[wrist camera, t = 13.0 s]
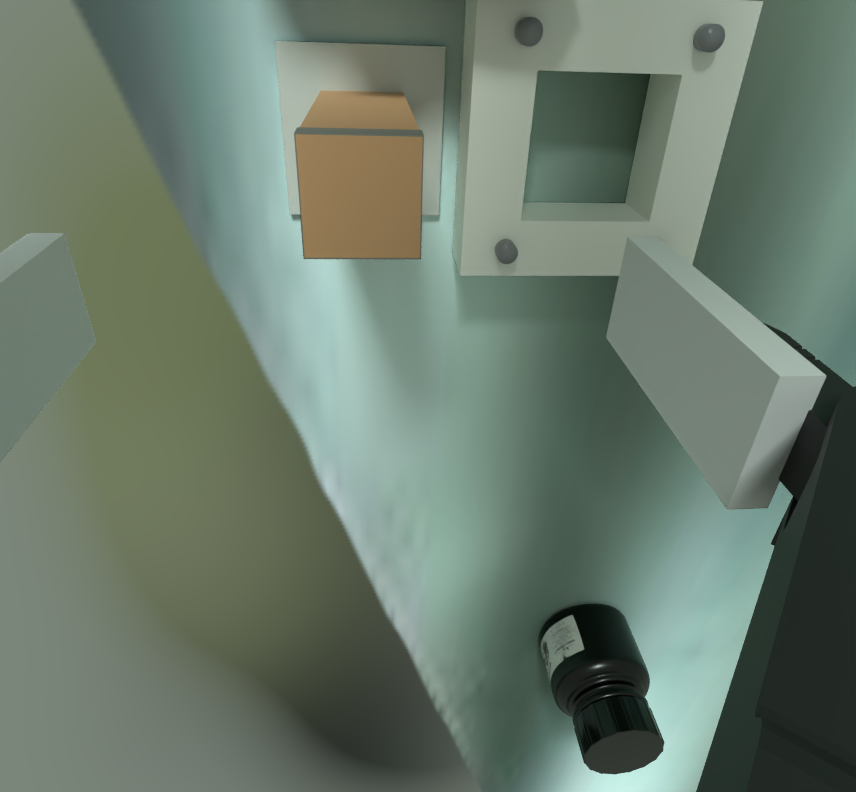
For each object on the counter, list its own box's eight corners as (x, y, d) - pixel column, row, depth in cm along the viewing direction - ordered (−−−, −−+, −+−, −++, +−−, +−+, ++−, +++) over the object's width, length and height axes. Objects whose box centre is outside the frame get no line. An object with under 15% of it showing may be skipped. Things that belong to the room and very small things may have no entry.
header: (466, -9, 32) (480, -11, 28) (723, 2, 33) (772, 1, 29) (452, 253, 39) (462, 280, 35) (662, 253, 41) (695, 280, 37)
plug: (319, 89, 33) (293, 133, 22) (404, 91, 34) (424, 135, 22) (324, 176, 36) (303, 259, 24) (403, 178, 36) (420, 259, 24)
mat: (275, 40, 32) (274, 41, 32) (445, 46, 33) (445, 46, 33) (290, 212, 37) (289, 214, 37) (438, 213, 38) (438, 215, 38)
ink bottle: (541, 601, 58) (577, 725, 48) (632, 593, 59) (687, 714, 49) (534, 664, 64) (566, 788, 53) (618, 656, 64) (665, 777, 54)
